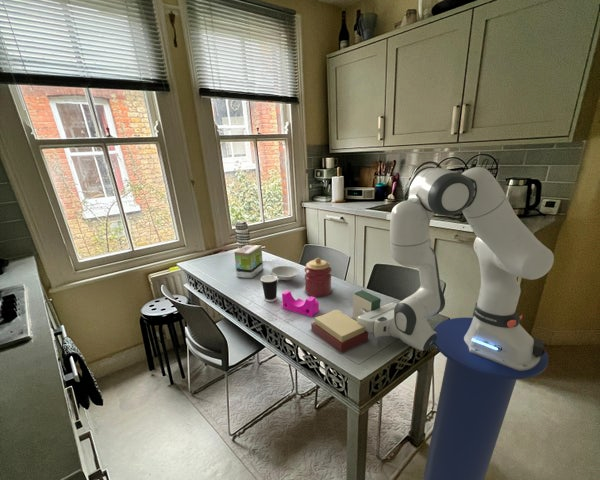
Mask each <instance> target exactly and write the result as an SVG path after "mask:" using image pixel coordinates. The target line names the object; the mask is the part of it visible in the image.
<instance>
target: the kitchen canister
mask: <svg viewBox="0 0 600 480" xmlns="http://www.w3.org/2000/svg"><path fill="white" fill-rule="evenodd" d="M304 272H305V274H304V283H305V284H304V291H305V293H306V294H307V295H308V296H309V297H310V296H311V297H315V298H316V297H317V298H321V297H326V296H328V295H330V294H331V292H332V274H331V272H332V267H331V264H330V263H329V262H328V261H326V260H325V259H321V258H320V257H316V258H315V259H312V260H310V261H308V262H307V263H306V264H305V268H304Z"/></svg>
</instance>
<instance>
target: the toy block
mask: <svg viewBox="0 0 600 480" xmlns="http://www.w3.org/2000/svg"><path fill="white" fill-rule="evenodd" d="M281 299H282V309H283V310H286V311H290V312H294V313H297V314H299V315H303V316H307V317H311V318H312V317H313V316H314V315H315V314H317V313H318V312H319V311H320V307H319V306H320V301H318V300H317V298H316V297H315V296H310V295H309V297H307V298H306V299H305V300H302V299H301V298H297V299H295V298H294V296H293V294H292V291H291V290H288V289H286V290H285V291H284V292H282V293H281Z"/></svg>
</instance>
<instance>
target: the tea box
mask: <svg viewBox="0 0 600 480" xmlns="http://www.w3.org/2000/svg"><path fill="white" fill-rule="evenodd" d="M234 261H235V272H236V277H237V278H244V279H245V278H246V279H253V278H254V277H255V276H256V275H257V274H259V273H260V272H261V271H262V270H263V269H264V263H263V249H262V245H257V244H250V245H245V246H244V247H242V248H240V249H239V250H238V249H237V250H236V251H234Z"/></svg>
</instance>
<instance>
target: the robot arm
mask: <svg viewBox="0 0 600 480" xmlns="http://www.w3.org/2000/svg"><path fill="white" fill-rule="evenodd" d="M390 212H391V213H390V220H389V249H390V253H391V257H392V259H393V260H394V261H395V262H396V263H397V264H399V265H401V266H403V267H407V268H412V269H413V268H417V269H418V275H419V281H420V286H419V288H418V289H417V290H416V291H415V292H414V293H412V294H411V295H409V296H407V297H405V298H404V299H402V300H401V301H399V302H397V303H396V302H390V303H387V304H385V305H380V308H377V309H375V310H372V311H370V312H366V309H364V308H362V309H360V313H361V314H363V315H360V316H358V318H357V323H358V324H360V325H362V326H364V330H365V331H367V332H369V333H370V334H373V336H374V337H376V338H382V337H393V338H396V339H400V341H402V342H403V343H404V344H406V345H408V346H410V347H412V348H414V349H415V350H419V351H427V350H428V349H430V348H431V347H433V346H434V345H435V344H434V343H435V341H436V339H437V333H436V332H435V331H434V329H433V328H432V327H431V325H430V324H429V319H430V318H432V317H433V316H436V315H437V314H439V313H441V312H442V311H444V309H445V306H446V299H445V295H444V292H443V290H442V286H441V279H440V272H439V264H438V263H439V262H438V259H437V258H438V257H437V254H436V252H435V250H434V249H433V247H432V246H431V242H430V225H431V224H430V223H431V220H432V218H433V216H434V214H436V215H440V216H453V215H457V214H459V213H461V212H462V214H463V216H464V217H465V219H466V222H467V223H468V225H469V226H470V228H471V230H472V232H473V233H474V234H475V236H476V237H475V239H474V241H473V250H474V253H475V254H476V256H477V259H478V264H479V270H480V287H479V292H478V297H477V302H476V303H475V304H474V307H473V313H472V318H473V320H472V323H471V325H470V327H469V330H468V331H467V333H466V334H465V336H464V341H465V343H466V344H467V345H468V347H469V351H470V352H471V353H474V354H476V355H479V356H482V357H484V358H487V359H489V360H492V361H495V362H497V363H500V364H502V365H505V366H507V367H510V368H513V369H515V370H518V371H524V370H529V369H531V368H533V367H535V366H536V365H537V364H538V363H539V361H540V357H541V356H542V355H544V353H545V351H546V349H545V348H544V340H543V339H539V338H535V337H534V338H533V337H532V336H531V334H530V333H528V332H527V330H526V329H525V328H524V327H523V326H522V325H521V324H520V321H521V320H522V319H523V314H521V315H520V316H519V314H518V313H517V307H518V303H519V299H520V296H521V292H522V289H521V285H520V283H519V282H518V280H517V278H521V279H524V280H531V281H534V280H538V279H540V278H543V277H544V276H545V275H547V273H549V272H550V271H551V269H552V268H553V265H554V261H555V257H554V256H555V254H554V253H553V251H552V250H551V249H550V248H548V247H547V246H546V245H545V244H543V243H542V242H541V241H540V240H539V239H538V238H537V237H536V236H535V234H533V233H532V231H531V230H530V229H529V228H528V227H527V226H526V225H525V223H523V222H522V220H521V219H520V218H519V217H518V214H516V212H515V210H514V209H513V207H512V204H511V203H510V201H509V199H508V197H507V195H506V192H505V191H504V189H503V187H502V186H501V185H500V182H499V181H498V180H497V179H496V177H494V175H493V174H492V173H491V171H490V170H489V169H487V168H486V167H483V166H473V167H471V168H468V169H466V170H465V171H463V172H462V173H459V172H456V171H453V170H451V169H448V168H443V167H441V168H440V167H436V166H425V167H422V168H419V169H418V170H416V171H415V172H414V173H413V174H412V176H411V177H410V178H409V182H408V185H407V188H406V191H405V193H404V200H402V201H401V202H399V203H397V204H396V205H394V206H393V208H392V210H391V211H390ZM533 339H534V340H533ZM544 349H545V350H544Z"/></svg>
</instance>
